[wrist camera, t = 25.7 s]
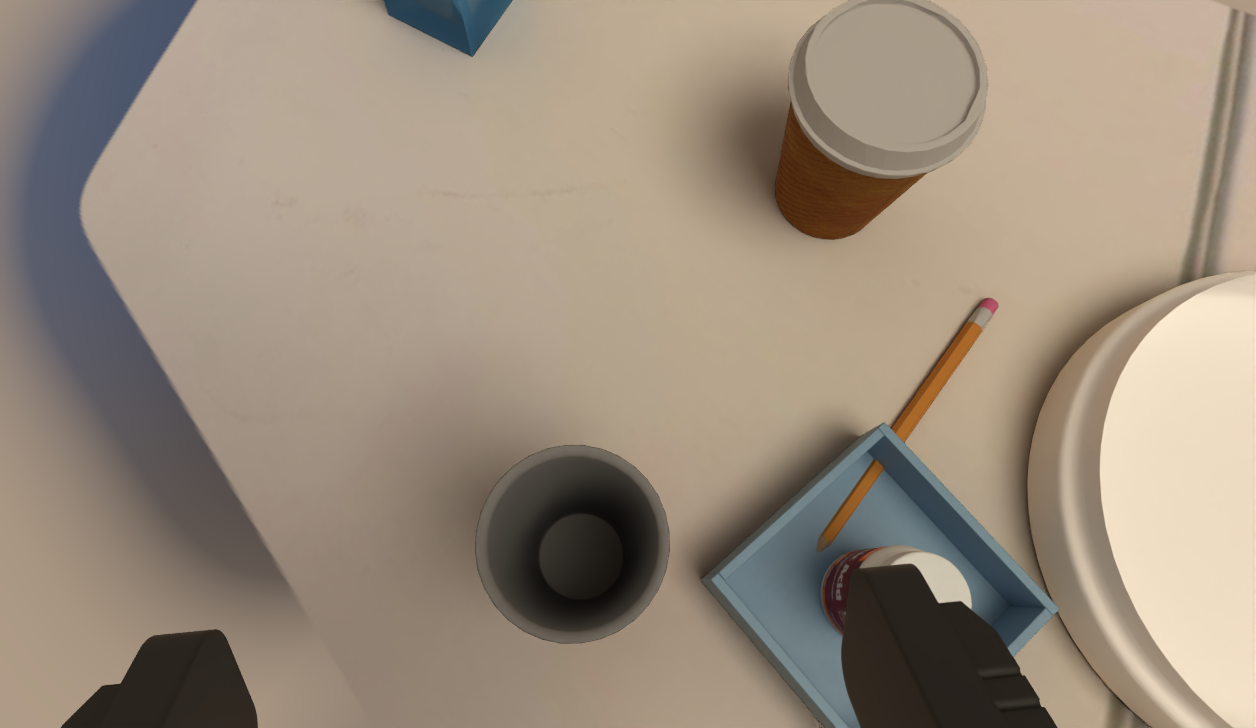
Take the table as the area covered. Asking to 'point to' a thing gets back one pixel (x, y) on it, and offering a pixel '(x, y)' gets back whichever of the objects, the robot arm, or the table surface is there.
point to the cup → (572, 544)
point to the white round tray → (1158, 503)
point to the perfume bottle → (451, 19)
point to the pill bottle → (933, 567)
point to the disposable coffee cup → (875, 110)
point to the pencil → (913, 414)
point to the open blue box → (887, 516)
